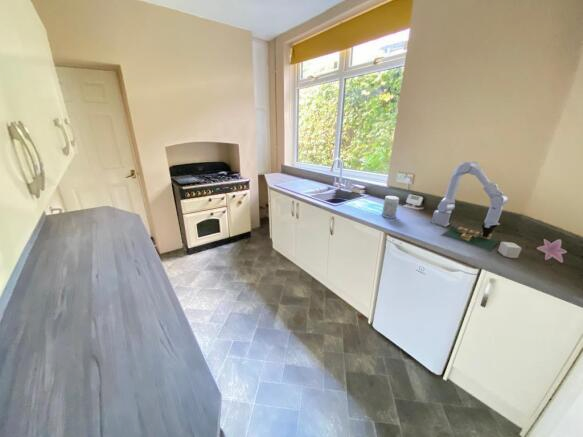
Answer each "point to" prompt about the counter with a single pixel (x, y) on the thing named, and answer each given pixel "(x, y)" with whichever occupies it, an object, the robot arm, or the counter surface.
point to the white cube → (509, 249)
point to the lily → (552, 250)
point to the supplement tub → (390, 206)
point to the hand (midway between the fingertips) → (486, 235)
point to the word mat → (475, 241)
